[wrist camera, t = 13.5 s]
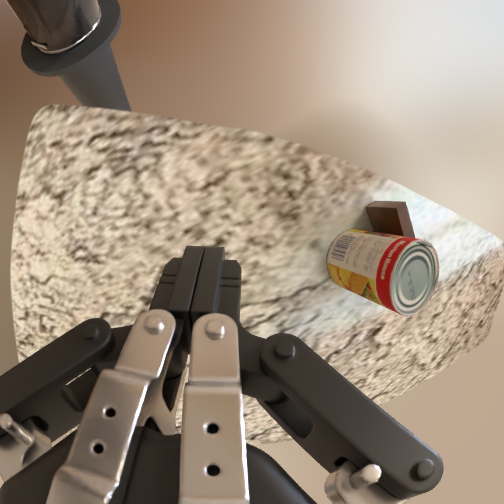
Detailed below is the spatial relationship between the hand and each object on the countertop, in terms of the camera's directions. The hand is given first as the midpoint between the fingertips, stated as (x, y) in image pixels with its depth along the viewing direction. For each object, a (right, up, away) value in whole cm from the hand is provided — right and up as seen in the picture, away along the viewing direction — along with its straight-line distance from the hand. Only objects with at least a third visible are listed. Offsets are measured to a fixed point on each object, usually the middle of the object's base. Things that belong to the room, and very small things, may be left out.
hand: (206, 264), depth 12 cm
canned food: (+15, 0, +25) cm, 29 cm away
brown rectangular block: (+20, +3, +26) cm, 33 cm away
